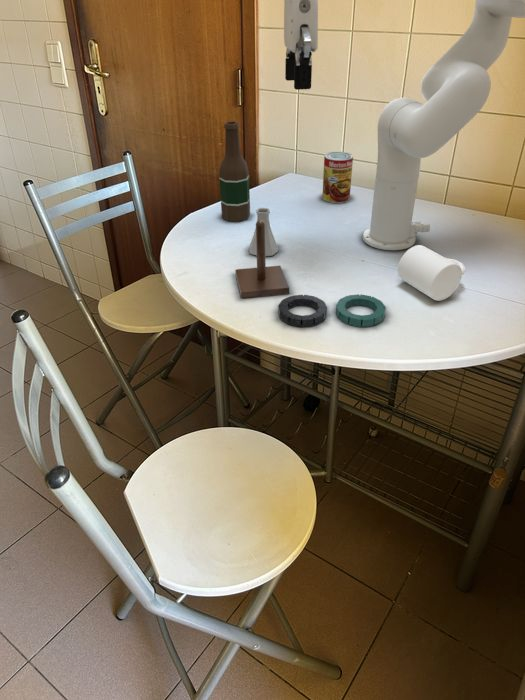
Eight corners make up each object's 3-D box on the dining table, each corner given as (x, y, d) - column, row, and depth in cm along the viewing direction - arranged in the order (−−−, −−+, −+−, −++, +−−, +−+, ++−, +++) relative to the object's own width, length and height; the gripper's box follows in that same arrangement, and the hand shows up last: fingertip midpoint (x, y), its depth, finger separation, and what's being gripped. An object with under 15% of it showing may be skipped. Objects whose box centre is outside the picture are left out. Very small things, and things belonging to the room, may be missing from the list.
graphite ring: (319, 299, 106) (320, 292, 105) (331, 324, 99) (332, 317, 98) (275, 303, 105) (275, 297, 104) (283, 329, 98) (283, 322, 97)
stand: (280, 271, 116) (280, 209, 108) (289, 293, 108) (290, 228, 100) (235, 275, 115) (232, 213, 107) (241, 298, 107) (238, 232, 99)
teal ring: (375, 299, 106) (376, 292, 105) (391, 324, 99) (392, 316, 98) (330, 303, 105) (331, 296, 104) (343, 329, 98) (344, 321, 97)
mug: (427, 305, 104) (434, 269, 99) (394, 284, 111) (400, 249, 106) (472, 290, 108) (481, 255, 103) (438, 270, 115) (444, 236, 111)
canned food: (330, 204, 148) (333, 161, 141) (317, 195, 154) (319, 153, 146) (354, 200, 150) (358, 157, 143) (340, 191, 156) (343, 150, 149)
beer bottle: (256, 214, 143) (253, 121, 129) (239, 224, 138) (235, 128, 123) (232, 209, 146) (227, 117, 132) (216, 218, 141) (209, 124, 127)
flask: (275, 258, 122) (275, 217, 116) (245, 256, 123) (243, 215, 117) (281, 245, 127) (281, 205, 121) (252, 243, 128) (250, 203, 123)
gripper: (332, -22, 87) (326, 92, 97) (310, -23, 101) (307, 76, 111) (287, -21, 86) (286, 93, 96) (272, -23, 100) (272, 77, 110)
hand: (297, 84), depth 104 cm, fingers open, 9 cm apart
